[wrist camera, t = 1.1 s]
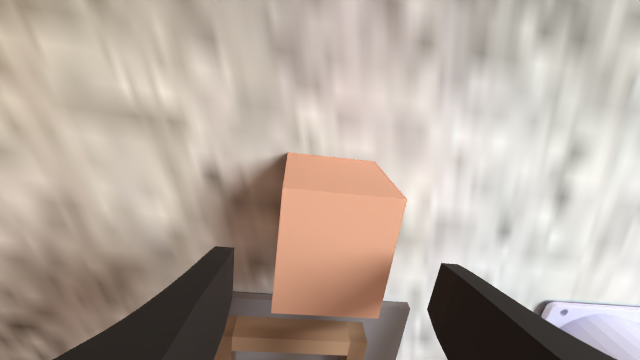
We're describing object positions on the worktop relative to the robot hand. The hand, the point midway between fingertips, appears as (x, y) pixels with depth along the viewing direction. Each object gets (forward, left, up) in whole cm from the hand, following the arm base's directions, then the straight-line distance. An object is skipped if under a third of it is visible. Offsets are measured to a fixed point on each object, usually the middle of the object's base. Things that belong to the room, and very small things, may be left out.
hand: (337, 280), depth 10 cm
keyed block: (0, 0, -6) cm, 6 cm away
